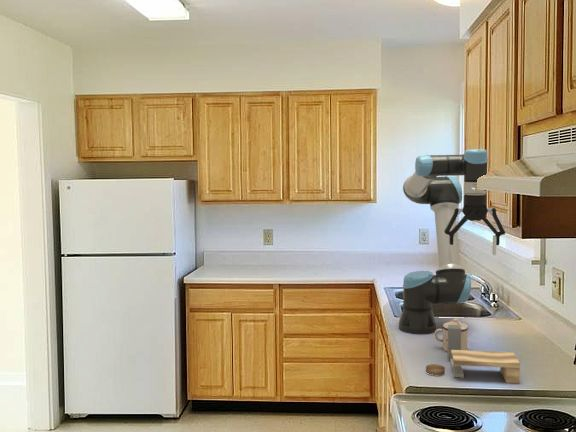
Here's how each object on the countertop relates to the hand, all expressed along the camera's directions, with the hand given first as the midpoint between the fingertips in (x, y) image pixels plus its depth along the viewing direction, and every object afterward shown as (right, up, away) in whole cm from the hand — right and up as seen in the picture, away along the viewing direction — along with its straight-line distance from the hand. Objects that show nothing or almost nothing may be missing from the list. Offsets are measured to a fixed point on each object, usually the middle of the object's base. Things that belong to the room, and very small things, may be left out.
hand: (473, 254), depth 205 cm
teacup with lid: (-5, -36, +11) cm, 38 cm away
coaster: (-16, -39, -11) cm, 44 cm away
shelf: (0, -39, -14) cm, 41 cm away
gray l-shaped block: (-8, -38, -7) cm, 39 cm away
